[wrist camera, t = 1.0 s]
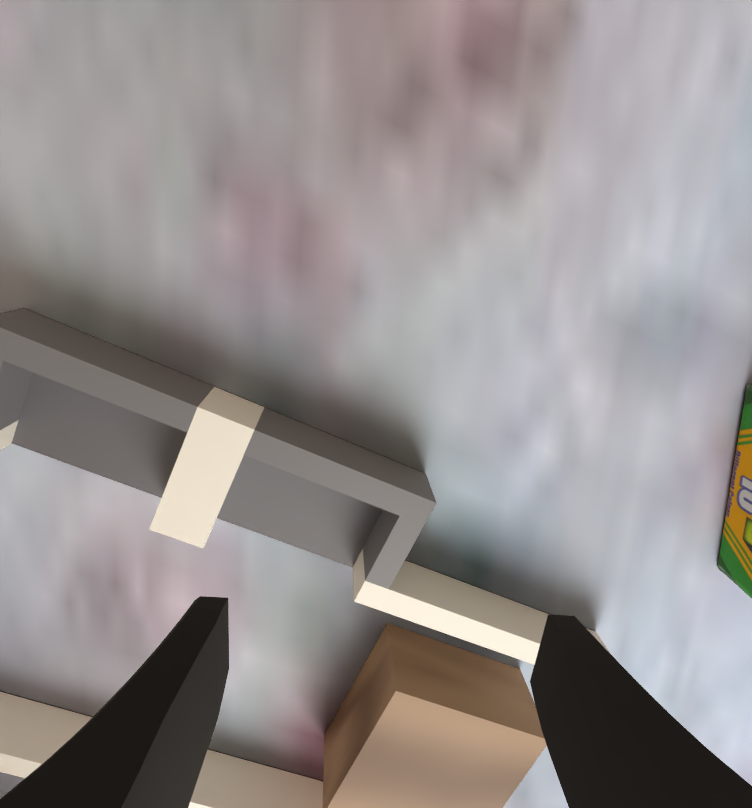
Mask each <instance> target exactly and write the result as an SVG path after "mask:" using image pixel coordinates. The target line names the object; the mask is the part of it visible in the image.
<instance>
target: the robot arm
mask: <svg viewBox="0 0 752 808" xmlns="http://www.w3.org/2000/svg"><path fill="white" fill-rule="evenodd" d="M228 670H229V633H228V598H220V597H199V598H197V599H196V600H195V601H194V602H193V604H192V605H191V606H190V608H189V609H188V610H187V612H186V613H185V614H184V615H183V617H182V618H181V619H180V621H179V622H178V623H177V624H176V626H175V627H174V628H173V629H172V631H171V632H170V633H169V634H168V636H167V637H166V638H165V639H164V640H163V642H162V643H161V644H160V645H159V646H158V648H157V649H156V650H155V651H154V652H153V653H152V654H151V656H150V657H149V658H148V659H147V660H146V661H145V662H144V664H143V665H142V666H141V667H140V668H139V669H138V670H137V672H136V673H135V674H134V675H133V676H132V677H131V678H130V679H129V680H128V681H127V682H126V683H125V685H124V686H123V687H122V688H121V689H120V690H119V691H118V692H117V693H116V694H115V695H114V696H113V697H112V698H111V699H110V700H109V701H108V702H107V703H106V704H105V705H104V706H103V707H102V708H101V709H100V710H99V712H98V713H97V714H96V715H95V716H94V717H92V718H91V719H90V720H89V721H88V722H87V723H86V724H85V725H84V726H83V727H82V728H81V729H80V730H79V731H78V732H77V733H76V734H75V735H74V736H73V737H72V738H71V739H69V740H68V741H67V742H66V743H65V744H64V745H63V746H62V747H61V748H60V749H58V750H57V751H56V752H55V753H54V754H53V755H52V756H51V757H50V758H48V759H47V760H46V761H45V762H44V763H43V764H41V765H40V766H39V767H38V768H37V769H36V770H34V771H33V772H32V773H31V774H30V775H28V776H27V777H26V778H25V779H24V780H23V781H21V782H20V783H19V784H18V785H17V786H15V787H14V788H13V789H12V790H11V791H10V792H8V793H7V794H6V795H5V796H3V797H2V798H1V799H0V808H188V807H189V804H190V801H191V798H192V795H193V792H194V789H195V786H196V783H197V780H198V777H199V774H200V771H201V768H202V765H203V762H204V759H205V756H206V753H207V749H208V746H209V743H210V740H211V737H212V734H213V731H214V728H215V725H216V722H217V719H218V715H219V711H220V706H221V702H222V698H223V693H224V688H225V684H226V679H227V674H228ZM530 683H531V687H532V692H533V696H534V701H535V706H536V710H537V714H538V718H539V722H540V726H541V730H542V733H543V736H544V739H545V742H546V744H547V747H548V750H549V753H550V756H551V759H552V761H553V764H554V767H555V770H556V773H557V775H558V778H559V781H560V784H561V787H562V789H563V792H564V795H565V798H566V800H567V803H568V806H569V808H752V786H751V785H750V784H749V783H747V782H746V781H745V780H744V779H743V778H741V777H740V776H739V775H738V774H737V773H735V772H734V771H733V770H732V769H731V768H729V767H728V766H727V765H726V764H725V763H723V762H722V761H721V760H720V759H719V758H717V757H716V756H715V755H714V754H713V753H712V752H711V751H709V750H708V749H707V748H706V747H705V746H704V745H703V744H701V743H700V742H699V741H698V740H697V739H696V738H695V737H694V736H693V735H692V734H691V733H690V732H688V731H687V730H686V729H685V728H684V727H683V726H682V725H681V724H680V723H679V722H678V721H677V720H675V719H674V718H673V717H672V716H671V715H670V714H669V713H668V712H667V711H666V710H665V709H664V708H663V707H662V706H661V705H660V704H659V703H658V702H657V701H656V700H655V699H654V698H653V697H652V696H651V695H650V694H649V693H648V692H647V691H646V690H645V689H644V688H643V687H642V686H641V685H640V684H639V683H638V682H637V681H636V680H635V679H634V678H633V677H632V676H631V675H630V674H629V673H628V672H627V671H626V670H625V669H624V668H623V667H622V666H621V665H620V664H619V663H618V661H617V660H616V659H615V658H614V657H613V656H612V655H611V654H610V653H609V652H608V651H607V650H606V649H605V648H604V647H603V646H602V645H601V644H600V642H599V641H598V640H597V639H596V638H595V637H594V636H593V635H592V634H591V633H590V632H589V631H588V630H587V629H586V628H585V627H584V626H583V625H582V624H581V623H580V622H579V621H578V620H577V618H576V617H574V616H562V615H548V617H547V620H546V624H545V628H544V632H543V635H542V639H541V643H540V646H539V650H538V654H537V658H536V661H535V665H534V669H533V673H532V676H531V680H530Z"/></svg>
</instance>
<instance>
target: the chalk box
mask: <svg viewBox="0 0 752 808" xmlns="http://www.w3.org/2000/svg"><path fill="white" fill-rule="evenodd" d="M717 566H718V569H719V570H720V571H722V572H723V573H724V574H725V575H727V576H728V577H729V578H730V579H731V580H732V581H733V582H734V583H735V584H737V585H738V586H739V587H740V588H741V589H742V590H743V591H744V592H745V593H746V594H747V595H749V596H750V597H751V598H752V384H749V385H747V388H746V393H745V401H744V409H743V411H742V419H741V425H740V433H739V436H738V443H737V450H736V457H735V460H734V467H733V474H732V477H731V485H730V494H729V498H728V505H727V512H726V517H725V524H724V529H723V535H722V543H721V547H720V554H719V559H718V565H717Z"/></svg>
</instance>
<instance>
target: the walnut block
mask: <svg viewBox="0 0 752 808" xmlns="http://www.w3.org/2000/svg"><path fill="white" fill-rule="evenodd" d="M546 745H547V744H546V742H545V739H544V736H543V733H542V730H541V726H540V722H539V718H538V714H537V710H536V706H535V704H534V701H533V699H532V697H531V694H530V692H529V689H528V687H527V685H526V682H525V680H524V678H523V675H522V673H521V671H520V669H518V668H515V667H512V666H509V665H506V664H504V663H501V662H498V661H495V660H492V659H489V658H486V657H483V656H481V655H478V654H475V653H472V652H469V651H466V650H463V649H460V648H458V647H455V646H452V645H449V644H446V643H443V642H440V641H437V640H435V639H432V638H429V637H426V636H423V635H420V634H417V633H414V632H412V631H409V630H406V629H403V628H400V627H397V626H394V625H391V624H389V623H387V624H386V626H385V628H384V630H383V631H382V633H381V635H380V637H379V639H378V640H377V642H376V644H375V646H374V648H373V649H372V651H371V653H370V655H369V656H368V658H367V660H366V662H365V664H364V665H363V667H362V669H361V671H360V673H359V674H358V676H357V678H356V680H355V681H354V683H353V685H352V687H351V689H350V690H349V692H348V694H347V696H346V698H345V699H344V701H343V703H342V705H341V706H340V708H339V710H338V712H337V714H336V715H335V717H334V719H333V721H332V723H331V724H330V726H329V728H328V730H327V731H326V733H325V736H324V773H323V808H503V806H504V805H505V804H506V802H507V801H508V799H509V798H510V797H511V795H512V794H513V792H514V791H515V789H516V788H517V787H518V785H519V784H520V782H521V781H522V779H523V778H524V777H525V775H526V774H527V772H528V771H529V770H530V768H531V767H532V765H533V764H534V762H535V761H536V760H537V758H538V757H539V755H540V754H541V753H542V751H543V750H544V748H545V747H546Z"/></svg>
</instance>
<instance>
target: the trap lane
mask: <svg viewBox="0 0 752 808" xmlns="http://www.w3.org/2000/svg"><path fill="white" fill-rule="evenodd" d="M11 443H13V444H16V445H18V446H21V447H24V448H27V449H29V450H32V451H35V452H38V453H40V454H43V455H46V456H49V457H51V458H54V459H57V460H59V461H62V462H65V463H68V464H70V465H73V466H76V467H79V468H81V469H84V470H87V471H90V472H92V473H95V474H98V475H101V476H103V477H106V478H109V479H112V480H114V481H117V482H120V483H123V484H125V485H128V486H131V487H134V488H136V489H139V490H142V491H145V492H147V493H150V494H153V495H156V496H158V497H161V501H160V503H159V506H158V508H157V511H156V513H155V516H154V518H153V521H152V524H151V526H150V529H149V530H152V531H155V532H158V533H161V534H164V535H167V536H169V537H172V538H175V539H178V540H181V541H184V542H186V543H189V544H192V545H195V546H198V547H201V548H204V546H205V544H206V541H207V539H208V537H209V535H210V532H211V530H212V528H213V525H214V523H215V521H216V518H219V519H221V520H224V521H227V522H230V523H232V524H235V525H238V526H241V527H243V528H246V529H249V530H252V531H254V532H257V533H260V534H263V535H265V536H268V537H271V538H273V539H276V540H279V541H282V542H284V543H287V544H290V545H293V546H295V547H298V548H301V549H304V550H306V551H309V552H312V553H315V554H317V555H320V556H323V557H326V558H328V559H331V560H334V561H337V562H339V563H342V564H345V565H348V566H350V567H353V585H354V602H357V603H360V604H363V605H366V606H369V607H371V608H374V609H377V610H380V611H383V612H386V613H388V614H391V615H394V616H397V617H400V618H403V619H406V620H408V621H411V622H414V623H417V624H420V625H423V626H425V627H428V628H431V629H434V630H437V631H440V632H442V633H445V634H448V635H451V636H454V637H457V638H460V639H462V640H465V641H468V642H471V643H474V644H477V645H479V646H482V647H485V648H488V649H491V650H494V651H497V652H499V653H502V654H505V655H508V656H511V657H514V658H516V659H519V660H522V661H525V662H528V663H531V664H534V665H535V661H536V658H537V654H538V650H539V646H540V643H541V639H542V635H543V632H544V628H545V624H546V620H547V617H548V615H549V614H547V613H544V612H541V611H539V610H536V609H533V608H531V607H528V606H525V605H523V604H520V603H517V602H515V601H512V600H509V599H507V598H504V597H501V596H499V595H496V594H493V593H491V592H488V591H485V590H483V589H480V588H477V587H475V586H472V585H469V584H467V583H464V582H461V581H459V580H456V579H453V578H451V577H448V576H445V575H443V574H440V573H437V572H435V571H432V570H429V569H427V568H424V567H421V566H419V565H416V564H413V563H411V562H408V561H405V559H406V557H407V556H408V554H409V552H410V550H411V548H412V546H413V545H414V543H415V541H416V539H417V537H418V536H419V534H420V532H421V530H422V528H423V526H424V525H425V523H426V521H427V519H428V517H429V516H430V514H431V512H432V510H433V508H434V506H435V505H436V501H435V498H434V495H433V492H432V490H431V487H430V484H429V482H428V479H427V476H426V474H425V473H423V472H420V471H418V470H415V469H413V468H410V467H408V466H406V465H403V464H401V463H398V462H396V461H393V460H391V459H389V458H386V457H384V456H381V455H379V454H376V453H374V452H372V451H369V450H367V449H364V448H362V447H359V446H357V445H355V444H352V443H350V442H347V441H345V440H342V439H340V438H338V437H335V436H333V435H330V434H328V433H326V432H323V431H321V430H318V429H316V428H313V427H311V426H309V425H306V424H304V423H301V422H299V421H296V420H294V419H292V418H289V417H287V416H284V415H282V414H279V413H277V412H275V411H272V410H270V409H267V408H265V407H262V406H260V405H258V404H255V403H253V402H250V401H248V400H245V399H243V398H241V397H238V396H236V395H233V394H231V393H228V392H226V391H224V390H221V389H219V388H216V387H214V386H211V385H209V384H207V383H204V382H202V381H199V380H197V379H194V378H192V377H190V376H187V375H185V374H182V373H180V372H178V371H175V370H173V369H170V368H168V367H165V366H163V365H161V364H158V363H156V362H153V361H151V360H148V359H146V358H144V357H141V356H139V355H136V354H134V353H131V352H129V351H127V350H124V349H122V348H119V347H117V346H114V345H112V344H110V343H107V342H105V341H102V340H100V339H97V338H95V337H93V336H90V335H88V334H85V333H83V332H80V331H78V330H76V329H73V328H71V327H68V326H66V325H63V324H61V323H59V322H56V321H54V320H51V319H49V318H46V317H44V316H42V315H39V314H37V313H34V312H32V311H29V310H27V309H25V308H23V309H18V310H14V311H9V312H5V313H0V450H1V449H3V448H5V447H6V446H8V445H9V444H11ZM586 629H587V628H586ZM587 630H588V631H589V632H590V633H591V634H592V635H593V636H594V637H595V638H596V639H597V640H598V641H599V642H600V644H601V645H602V646H603V647H604V648H605V649H606V650H607V651H608V649H607V648H606V646H605V645H604V643H603V642H602V640H601V639H600V637H599V636H598V634H597V633H596V632H595V631H592V630H590V629H587ZM608 652H609V651H608ZM91 718H92V717H89V716H86V715H82V714H78V713H75V712H71V711H68V710H64V709H61V708H57V707H53V706H50V705H46V704H43V703H39V702H35V701H32V700H28V699H25V698H21V697H17V696H14V695H10V694H7V693H3V692H0V772H2V773H6V774H10V775H14V776H18V777H22V778H26V777H27V776H28V775H30V774H31V773H32V772H33V771H34V770H36V769H37V768H38V767H39V766H40V765H41V764H43V763H44V762H45V761H46V760H47V759H48V758H50V757H51V756H52V755H53V754H54V753H55V752H56V751H57V750H58V749H60V748H61V747H62V746H63V745H64V744H65V743H66V742H67V741H68V740H69V739H71V738H72V737H73V736H74V735H75V734H76V733H77V732H78V731H79V730H80V729H81V728H82V727H83V726H84V725H85V724H86V723H87V722H88V721H89V720H90V719H91ZM188 808H323V781H319V780H315V779H312V778H308V777H305V776H301V775H297V774H294V773H290V772H287V771H283V770H279V769H276V768H272V767H269V766H265V765H262V764H258V763H254V762H251V761H247V760H244V759H240V758H236V757H233V756H229V755H226V754H222V753H218V752H215V751H211V750H208V749H207V753H206V756H205V759H204V762H203V765H202V768H201V771H200V774H199V777H198V780H197V783H196V786H195V789H194V792H193V795H192V798H191V801H190V804H189V807H188Z"/></svg>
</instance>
